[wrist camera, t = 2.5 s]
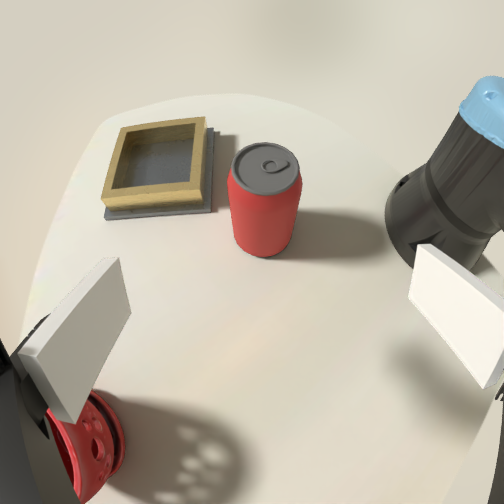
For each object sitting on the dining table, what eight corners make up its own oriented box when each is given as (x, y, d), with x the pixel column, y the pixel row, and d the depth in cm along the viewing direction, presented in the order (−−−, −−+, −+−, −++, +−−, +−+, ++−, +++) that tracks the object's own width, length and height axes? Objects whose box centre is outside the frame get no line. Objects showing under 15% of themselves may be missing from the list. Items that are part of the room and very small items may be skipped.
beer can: (298, 250, 34) (318, 189, 23) (242, 265, 33) (235, 208, 22) (280, 202, 36) (289, 131, 25) (227, 215, 36) (217, 146, 25)
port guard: (214, 131, 41) (211, 112, 38) (210, 212, 36) (206, 194, 32) (125, 141, 41) (117, 125, 38) (106, 220, 36) (93, 205, 32)
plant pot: (30, 403, 26) (-37, 400, 15) (100, 363, 29) (33, 350, 18) (79, 495, 22) (20, 522, 11) (159, 465, 24) (112, 504, 13)
